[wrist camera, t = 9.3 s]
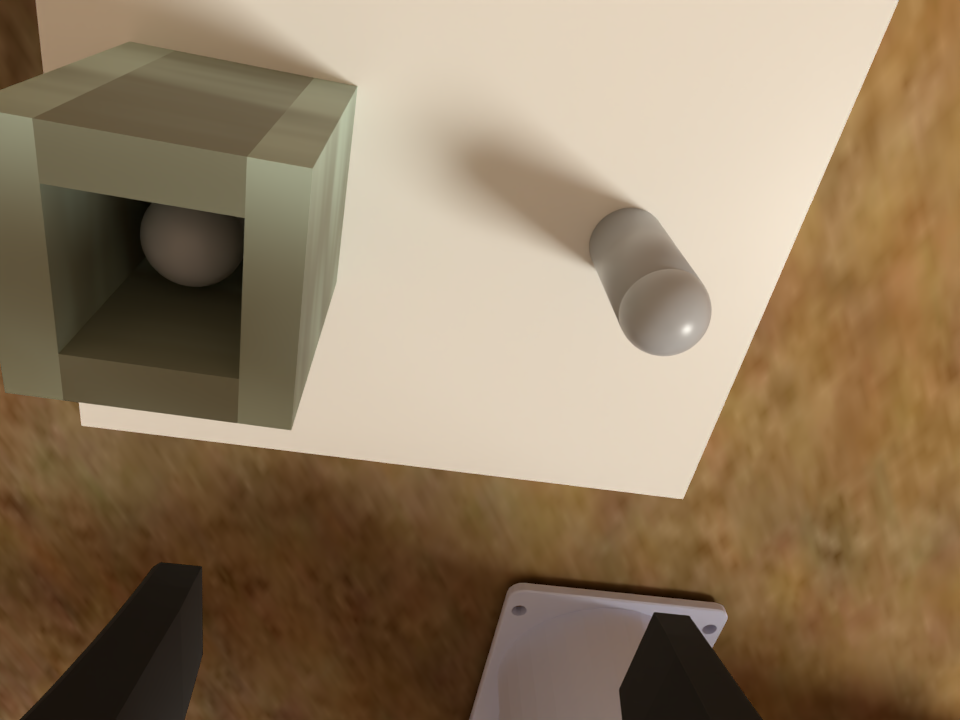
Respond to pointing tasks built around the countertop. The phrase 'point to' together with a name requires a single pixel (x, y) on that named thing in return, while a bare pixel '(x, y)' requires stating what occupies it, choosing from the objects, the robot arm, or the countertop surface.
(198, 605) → the robot arm
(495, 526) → the countertop surface
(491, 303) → the jig board
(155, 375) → the square socket block
